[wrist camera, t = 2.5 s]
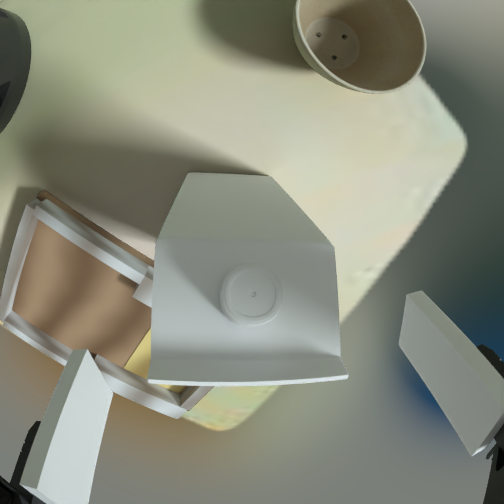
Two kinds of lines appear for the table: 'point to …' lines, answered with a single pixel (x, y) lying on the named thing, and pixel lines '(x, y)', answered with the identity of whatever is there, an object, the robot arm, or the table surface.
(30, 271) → the divided compartment tray
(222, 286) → the milk carton
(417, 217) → the table surface
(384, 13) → the flower pot
